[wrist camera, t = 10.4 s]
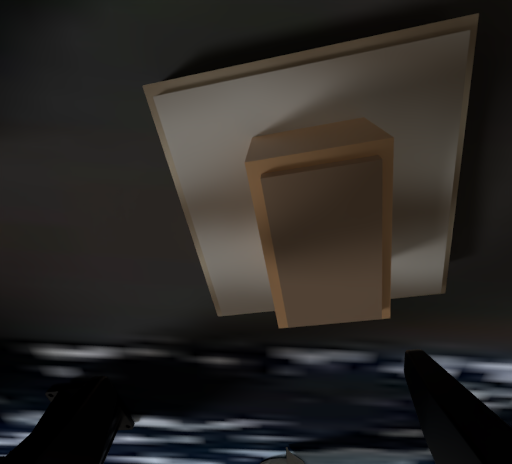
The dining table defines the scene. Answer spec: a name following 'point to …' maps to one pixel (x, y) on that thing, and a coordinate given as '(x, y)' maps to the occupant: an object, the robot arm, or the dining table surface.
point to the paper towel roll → (290, 463)
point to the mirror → (313, 114)
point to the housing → (325, 220)
